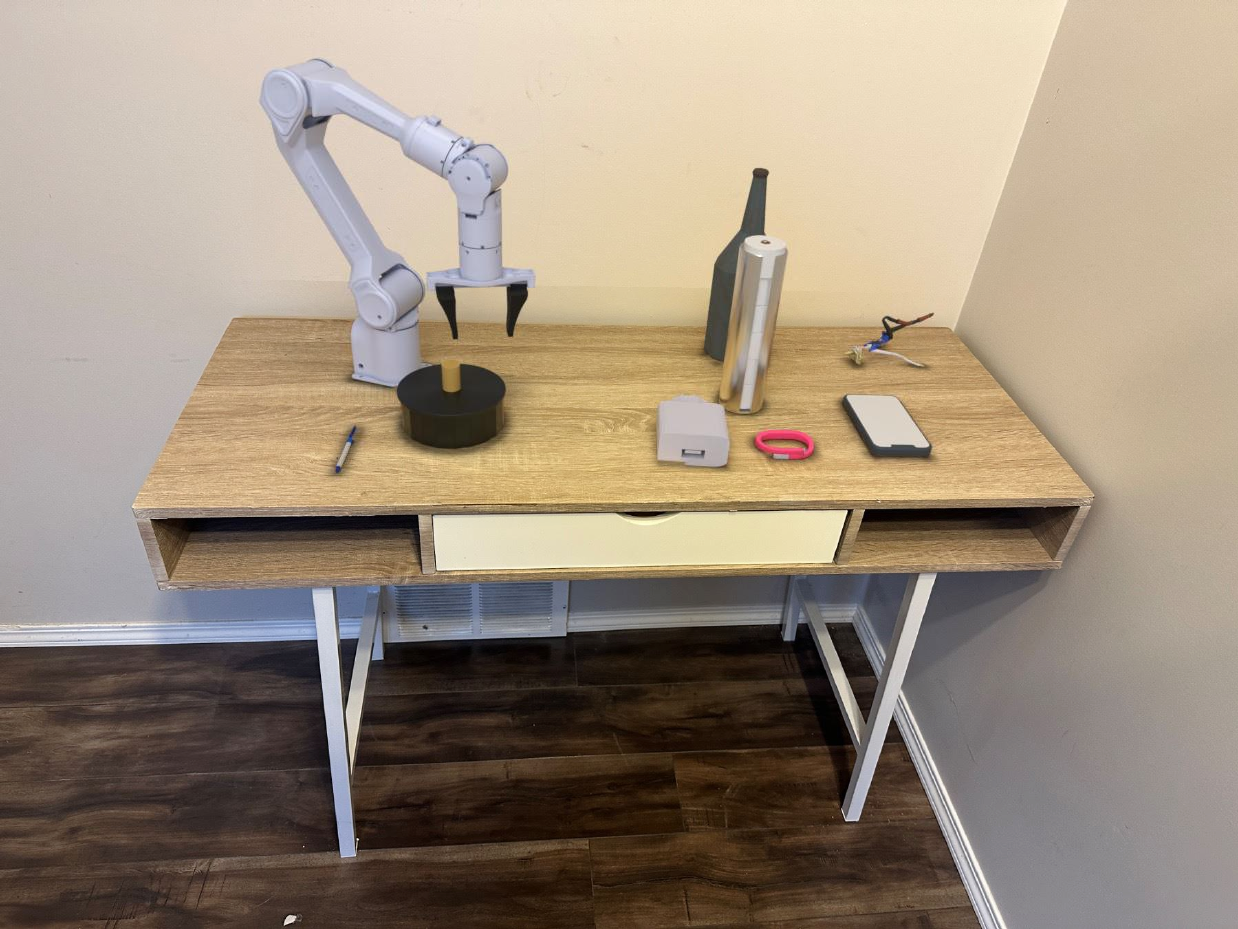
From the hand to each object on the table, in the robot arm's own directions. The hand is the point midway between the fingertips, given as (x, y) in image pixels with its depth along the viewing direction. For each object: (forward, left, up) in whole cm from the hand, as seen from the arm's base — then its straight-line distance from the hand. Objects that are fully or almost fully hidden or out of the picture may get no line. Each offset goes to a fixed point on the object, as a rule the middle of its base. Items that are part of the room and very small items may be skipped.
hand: (482, 335), depth 127 cm
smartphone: (+57, +13, -9) cm, 59 cm away
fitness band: (+44, +2, -10) cm, 45 cm away
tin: (0, -10, -9) cm, 14 cm away
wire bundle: (+55, +37, -10) cm, 67 cm away
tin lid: (0, -10, -4) cm, 11 cm away
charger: (+31, 0, -10) cm, 32 cm away
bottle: (+32, +28, -10) cm, 43 cm away
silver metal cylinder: (+36, +12, -10) cm, 39 cm away
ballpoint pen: (-10, -21, -10) cm, 25 cm away
